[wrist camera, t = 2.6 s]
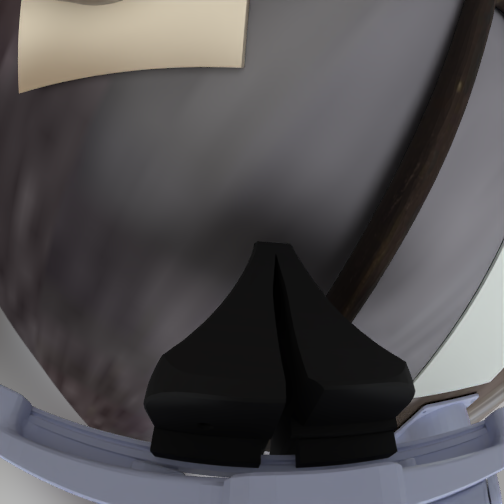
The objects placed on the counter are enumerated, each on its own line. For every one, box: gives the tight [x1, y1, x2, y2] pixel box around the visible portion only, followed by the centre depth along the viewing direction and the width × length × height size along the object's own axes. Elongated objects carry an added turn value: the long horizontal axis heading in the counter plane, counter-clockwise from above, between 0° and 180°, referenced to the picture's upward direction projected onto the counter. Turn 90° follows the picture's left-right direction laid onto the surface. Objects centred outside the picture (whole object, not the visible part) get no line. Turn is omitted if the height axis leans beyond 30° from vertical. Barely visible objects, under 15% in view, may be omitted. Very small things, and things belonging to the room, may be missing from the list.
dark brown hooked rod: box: [265, 0, 504, 452], centre depth 12 cm, size 5×5×30 cm
